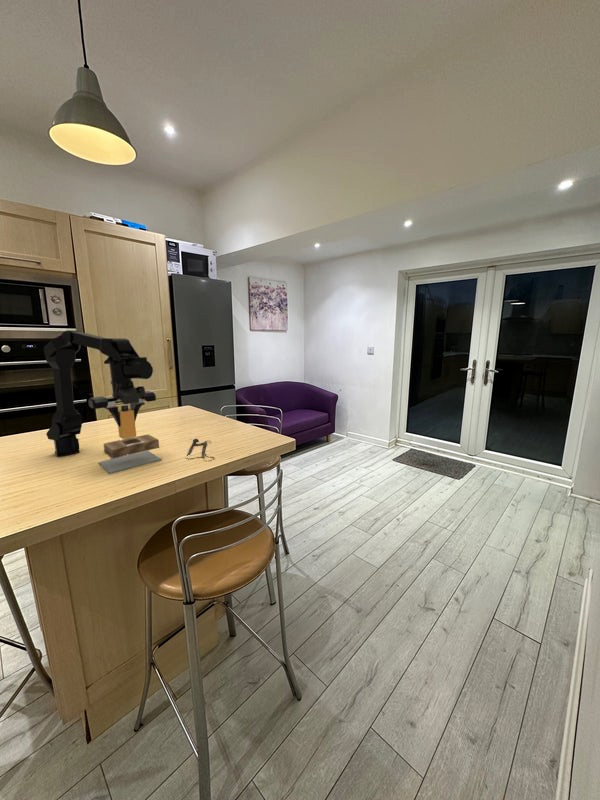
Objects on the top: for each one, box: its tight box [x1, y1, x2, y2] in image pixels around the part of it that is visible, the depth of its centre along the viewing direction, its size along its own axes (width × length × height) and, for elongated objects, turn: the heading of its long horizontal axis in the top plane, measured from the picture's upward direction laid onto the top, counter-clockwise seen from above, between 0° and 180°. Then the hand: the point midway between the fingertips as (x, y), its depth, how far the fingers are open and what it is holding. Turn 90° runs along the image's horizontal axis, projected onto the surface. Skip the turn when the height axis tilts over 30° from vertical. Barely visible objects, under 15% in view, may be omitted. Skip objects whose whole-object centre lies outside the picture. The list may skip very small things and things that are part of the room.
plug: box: [117, 404, 137, 439], centre depth 106 cm, size 4×4×10 cm
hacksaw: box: [186, 438, 216, 462], centre depth 120 cm, size 24×10×2 cm, turn 10°
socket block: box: [103, 434, 160, 459], centre depth 121 cm, size 16×10×3 cm, turn 136°
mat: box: [97, 450, 162, 475], centre depth 109 cm, size 16×12×1 cm
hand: (126, 424), depth 106 cm, fingers closed on plug, 4 cm apart
